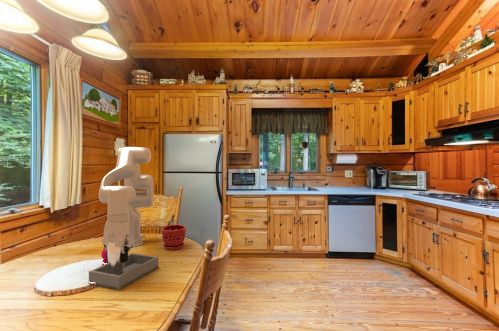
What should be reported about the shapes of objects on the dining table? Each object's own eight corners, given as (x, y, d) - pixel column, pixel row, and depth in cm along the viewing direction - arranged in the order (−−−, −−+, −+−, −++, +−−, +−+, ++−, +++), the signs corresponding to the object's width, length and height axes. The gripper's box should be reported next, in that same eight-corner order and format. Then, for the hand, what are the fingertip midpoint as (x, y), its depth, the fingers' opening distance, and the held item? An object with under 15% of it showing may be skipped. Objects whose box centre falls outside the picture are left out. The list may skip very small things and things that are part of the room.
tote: (131, 263, 118) (132, 253, 118) (158, 267, 113) (158, 257, 114) (88, 284, 97) (88, 271, 97) (118, 290, 92) (119, 277, 92)
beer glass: (129, 273, 104) (130, 238, 104) (119, 281, 97) (119, 243, 97) (114, 272, 104) (114, 237, 105) (102, 280, 97) (103, 242, 98)
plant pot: (158, 247, 143) (158, 226, 143) (179, 242, 152) (179, 223, 152) (167, 253, 133) (167, 231, 133) (189, 248, 142) (189, 227, 142)
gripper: (93, 217, 100) (92, 261, 100) (127, 221, 95) (126, 267, 94) (109, 214, 107) (108, 255, 107) (141, 217, 102) (140, 260, 102)
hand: (117, 260), depth 101 cm, fingers open, 6 cm apart
